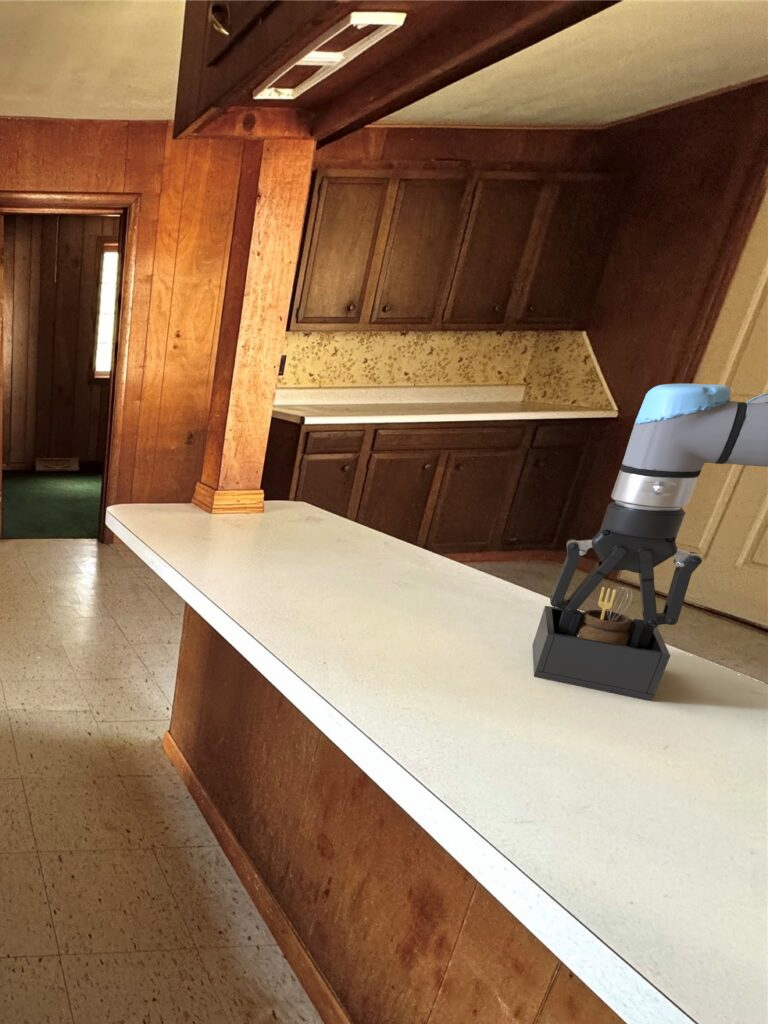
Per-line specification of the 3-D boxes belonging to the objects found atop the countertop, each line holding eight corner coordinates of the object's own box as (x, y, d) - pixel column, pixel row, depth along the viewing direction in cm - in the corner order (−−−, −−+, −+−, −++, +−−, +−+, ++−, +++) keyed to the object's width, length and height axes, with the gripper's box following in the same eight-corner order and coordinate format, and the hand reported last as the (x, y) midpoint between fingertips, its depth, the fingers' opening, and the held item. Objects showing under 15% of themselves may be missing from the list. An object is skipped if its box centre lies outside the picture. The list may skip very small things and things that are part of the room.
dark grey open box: (639, 665, 99) (656, 623, 97) (652, 701, 90) (670, 655, 88) (532, 645, 107) (545, 605, 104) (533, 676, 97) (547, 633, 95)
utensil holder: (627, 662, 97) (656, 585, 92) (608, 673, 94) (637, 594, 89) (577, 647, 101) (602, 573, 97) (557, 657, 99) (582, 582, 94)
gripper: (556, 502, 92) (512, 651, 100) (758, 519, 81) (689, 685, 89) (554, 491, 97) (512, 634, 106) (743, 506, 86) (679, 664, 95)
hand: (593, 657), depth 97 cm, fingers closed on utensil holder, 6 cm apart
